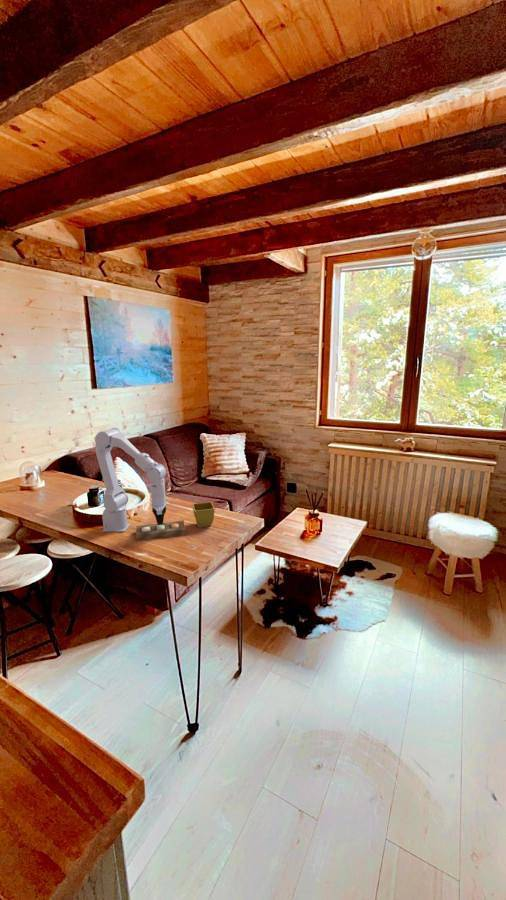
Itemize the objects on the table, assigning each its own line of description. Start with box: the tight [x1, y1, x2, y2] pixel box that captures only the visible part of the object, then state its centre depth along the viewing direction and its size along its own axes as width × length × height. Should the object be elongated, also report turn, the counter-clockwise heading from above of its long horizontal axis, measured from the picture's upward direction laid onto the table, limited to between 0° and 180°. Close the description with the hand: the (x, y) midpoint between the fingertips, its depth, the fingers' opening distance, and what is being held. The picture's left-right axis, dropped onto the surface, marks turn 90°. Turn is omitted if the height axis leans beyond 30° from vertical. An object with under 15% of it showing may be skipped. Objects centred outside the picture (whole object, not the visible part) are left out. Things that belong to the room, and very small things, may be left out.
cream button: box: [142, 527, 151, 532], centre depth 159 cm, size 4×4×2 cm
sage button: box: [156, 525, 165, 530], centre depth 161 cm, size 4×4×2 cm
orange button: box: [171, 523, 179, 529], centre depth 162 cm, size 4×4×2 cm
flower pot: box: [192, 501, 216, 528], centre depth 168 cm, size 9×9×9 cm
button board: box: [135, 520, 186, 542], centre depth 161 cm, size 20×9×2 cm, turn 105°
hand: (160, 523), depth 160 cm, fingers closed
